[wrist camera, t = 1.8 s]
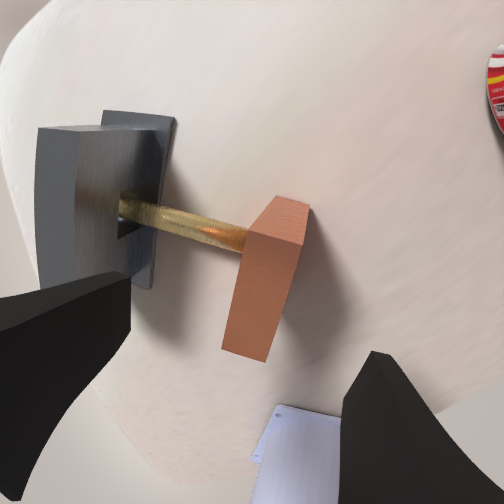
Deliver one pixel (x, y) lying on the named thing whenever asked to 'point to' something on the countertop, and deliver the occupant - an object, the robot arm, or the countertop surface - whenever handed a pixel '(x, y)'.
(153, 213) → the brass rod mallet
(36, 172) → the eye block
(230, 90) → the countertop surface
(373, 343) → the countertop surface
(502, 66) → the soda can
